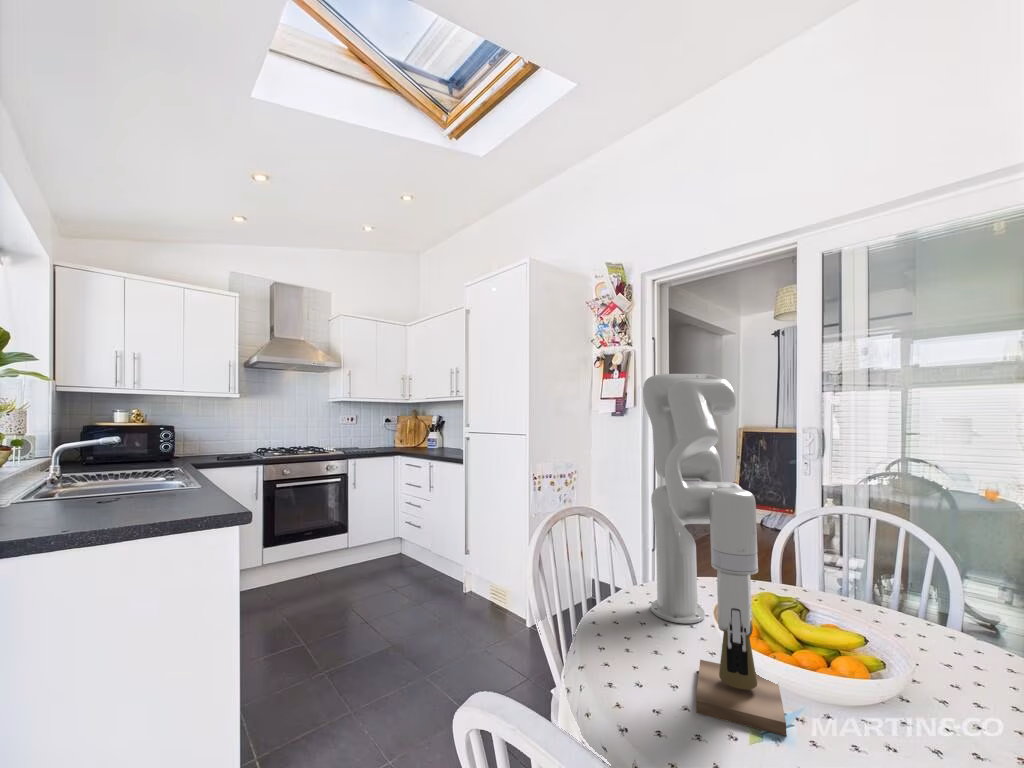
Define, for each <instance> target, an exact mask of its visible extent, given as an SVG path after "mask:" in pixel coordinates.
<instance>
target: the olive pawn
mask: <svg viewBox="0 0 1024 768" xmlns="http://www.w3.org/2000/svg"><path fill="white" fill-rule="evenodd" d="M731 617H732V612H731ZM753 627H754V626H753V623H752V620H751V619H750V633H749V634H748V635H745V642H746V650H747V656H748V675H747V676H746V675H741V674H739V673H738V672H736V673H732V672H729V671H728V670H727V646H728V632H727V630H722V632H723V635H722V644H721V651H720V652H721V653H720V654H721V655H720V662H719V664H720V670H719V677H720V679H721V680H722V681H723V682H725V683H726V684H728V685H730V686H732V687H735V688H739V689H753V688H755V687H756V686H757V678H756V672H755V671H756V667H755V662H754V655H753V649H752V643H751V639H750V637H751V636H752V635H753V632H754V630H753V629H754V628H753ZM727 629H728V628H727ZM730 629H732V626H730ZM740 631H743V625H742V628H740ZM745 634H746V633H745ZM731 637H733V634H731ZM741 639H742V636H741ZM731 645H732V644H731Z"/></svg>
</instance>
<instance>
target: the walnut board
mask: <svg viewBox="0 0 1024 768" xmlns="http://www.w3.org/2000/svg"><path fill="white" fill-rule="evenodd" d="M719 670H720V662H714V661H710V660H709V661H708V660H704V659H700V660H699V667H698V675H697V676H698V678H697V685H696V686H697V687H696V695H695V696H696V697H695V711H696V712H695V713H696V714H697V715H698V714H699V715H703V716H706V717H711V718H714V719H718V720H722V721H727V722H730V723H733V724H738V725H742V726H745V727H749V728H753V729H756V728H757V730H759V731H764V732H768V733H773V734H776V735H780V736H784V737H787V733H788V732H787V721H786V716H785V710H784V706H783V705H784V704H783V700H782V695H781V690H780V684H779V683H778V684H779V685H778V684H775V683H773V682H771V681H769V680H766V679H764V678H762V677H760V676H759V675H757V674H756V678H757V686H756V687H755V688H753V689H739V688H735V687H732V686H730V685H728V684H726V683H725V682H723V681H722V680H721V679H720V677H719Z"/></svg>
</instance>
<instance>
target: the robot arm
mask: <svg viewBox="0 0 1024 768" xmlns="http://www.w3.org/2000/svg"><path fill="white" fill-rule="evenodd" d="M642 397H643V402H644V407H645V410H646V412H647V415H648V417H649V421H650V423H651V428H652V439H653V440H652V441H653V443H652V444H653V456H654V467H655V470H656V473H657V475H658V476H659V477H660V478H662V479H664V481H665V485H661V486H658V487H656V488H654V490H653V491H652V493H651V497H650V498H651V501H650V502H651V508H652V515H653V520H654V529H655V550H656V551H655V553H656V555H655V556H656V558H655V559H656V592H657V593H656V594H657V596H656V597H657V599H656V600H653V601H652V603H651V604H650V610H651V612H652V613H653V615H654V616H656V617H657V618H660V619H662V620H664V621H667V622H672V623H677V624H684V625H687V624H696V623H700V622H701V621H704V619H705V615H706V614H705V610H704V608H703V607H702V606H700V605H699V604H698V578H697V577H698V575H697V573H698V571H697V570H698V569H697V545H696V541H695V539H694V536H693V535H692V534H691V532H690V531H688V530H687V528H686V527H685V525H691V524H693V525H709V533H710V534H709V535H710V536H709V538H710V565H711V567H712V568H713V569H715V570H716V571H717V576H716V578H717V580H716V587H717V590H716V591H717V592H716V593H717V597H716V598H717V622H718V623H717V626H718V629H719V631H721V632H723V630H727V632H728V646H727V670H728V671H729V672H732V673H736V672H738V673H739V674H741V675H746V676H747V675H748V656H747V650H746V642H745V635H748V634H749V633H750V620H751V617H752V614H751V613H752V592H751V591H752V590H751V589H752V586H751V585H752V584H751V583H752V581H751V576H752V575H755V574H757V573H758V572H759V564H758V561H759V560H758V558H759V557H758V538H757V537H758V533H757V531H758V529H757V528H758V527H757V507H756V506H757V504H756V502H757V501H756V498H755V497H756V496H755V495H754V494H753V493H752V492H750V491H749V490H746V489H743V488H742V487H741V486H740V485H739V484H738V483H735V482H731V481H724V479H723V471H722V470H723V469H722V462H721V457H720V453H719V452H718V450H717V449H716V447H715V446H716V445H717V444H718V443H719V440H720V431H719V430H718V426H717V423H716V420H715V416H726V415H730V414H731V413H732V412H733V411H734V410H735V407H736V402H737V400H736V399H737V398H736V393H735V391H734V388H733V386H732V385H731V383H729V381H728V380H727V379H724V378H721V377H719V376H717V375H714V374H709V373H662V374H656V375H652V376H649V377H648V378H647V379H646V380H645V381H644V383H643V387H642ZM685 480H690V481H685ZM691 480H692V481H691ZM693 480H695V481H693ZM696 480H697V481H696ZM731 612H732V617H731ZM742 625H743V631H740V628H742ZM730 626H732V629H730ZM727 628H728V629H727ZM745 633H746V634H745ZM731 634H733V637H731ZM741 636H742V639H741ZM731 644H732V645H731Z"/></svg>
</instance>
